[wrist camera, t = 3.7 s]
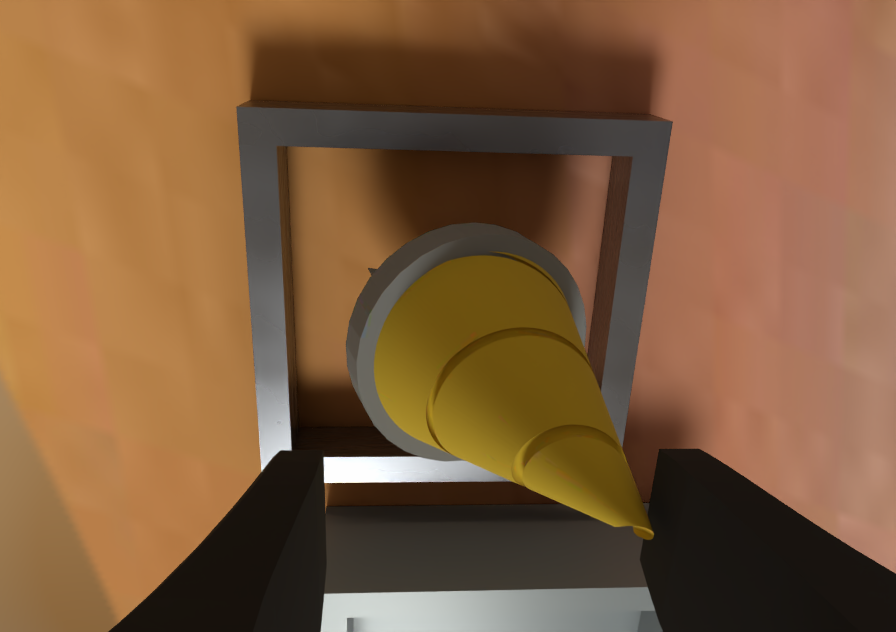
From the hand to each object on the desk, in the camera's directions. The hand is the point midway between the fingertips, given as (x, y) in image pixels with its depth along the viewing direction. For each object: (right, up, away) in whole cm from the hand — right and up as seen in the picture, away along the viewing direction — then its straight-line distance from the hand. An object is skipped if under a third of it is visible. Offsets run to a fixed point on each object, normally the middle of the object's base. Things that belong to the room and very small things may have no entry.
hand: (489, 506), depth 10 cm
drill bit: (-1, +3, +8) cm, 9 cm away
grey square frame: (-1, +3, +8) cm, 9 cm away
